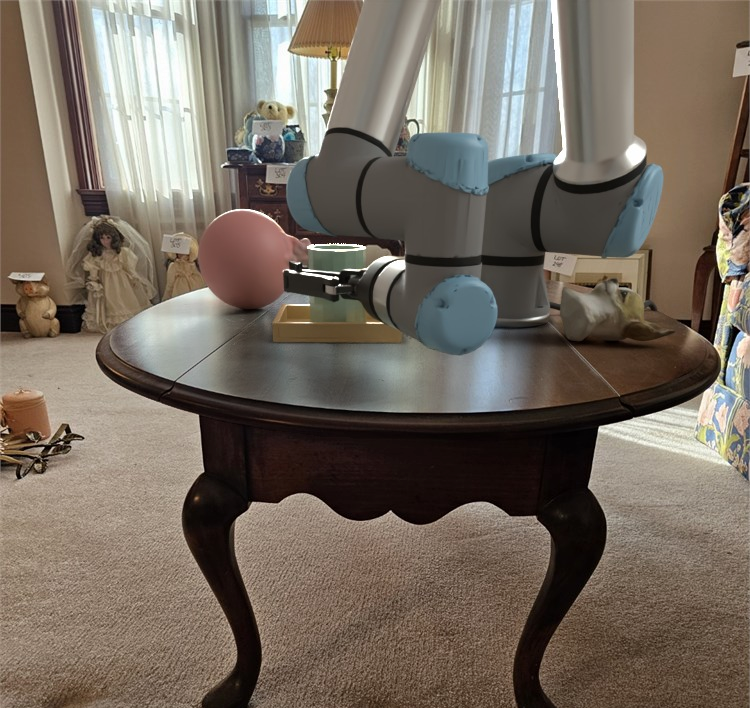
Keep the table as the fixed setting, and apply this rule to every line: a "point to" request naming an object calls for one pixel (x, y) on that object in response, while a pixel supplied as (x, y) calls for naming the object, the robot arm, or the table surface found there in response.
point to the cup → (336, 261)
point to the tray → (328, 328)
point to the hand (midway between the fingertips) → (338, 269)
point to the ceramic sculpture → (607, 314)
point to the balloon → (247, 258)
